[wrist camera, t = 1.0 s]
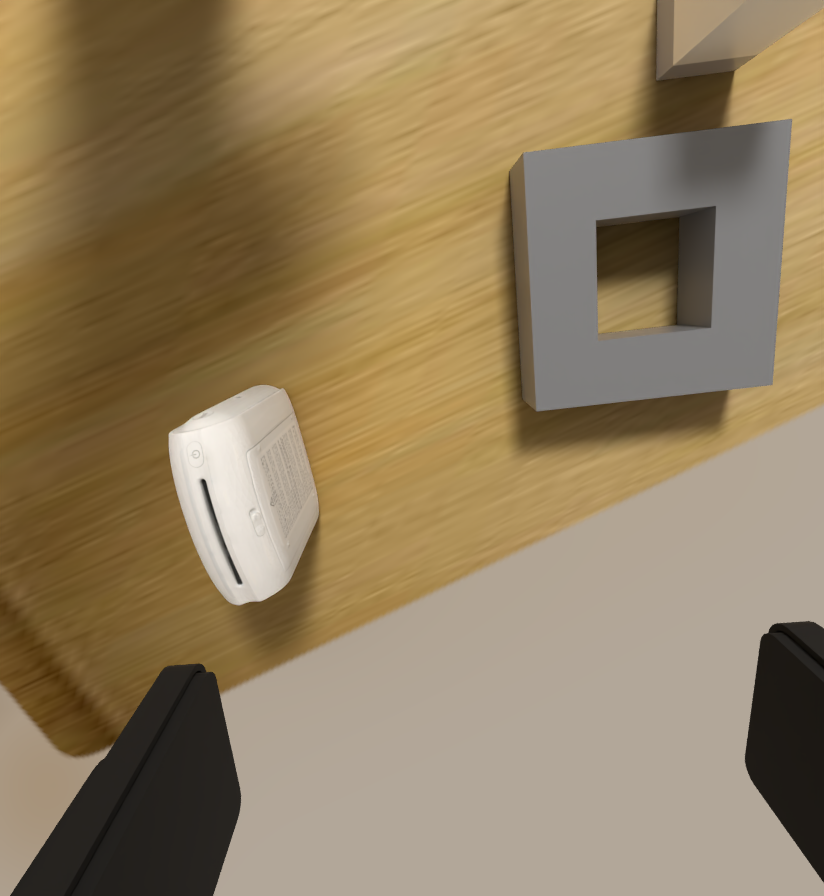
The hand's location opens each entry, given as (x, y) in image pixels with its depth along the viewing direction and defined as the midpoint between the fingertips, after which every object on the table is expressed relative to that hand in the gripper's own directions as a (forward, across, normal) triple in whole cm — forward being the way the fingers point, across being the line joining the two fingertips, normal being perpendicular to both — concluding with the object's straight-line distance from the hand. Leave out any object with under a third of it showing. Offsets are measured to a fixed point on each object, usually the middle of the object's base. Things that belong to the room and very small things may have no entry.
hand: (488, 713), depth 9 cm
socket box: (+27, -13, -7) cm, 31 cm away
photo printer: (+28, +10, +3) cm, 30 cm away
